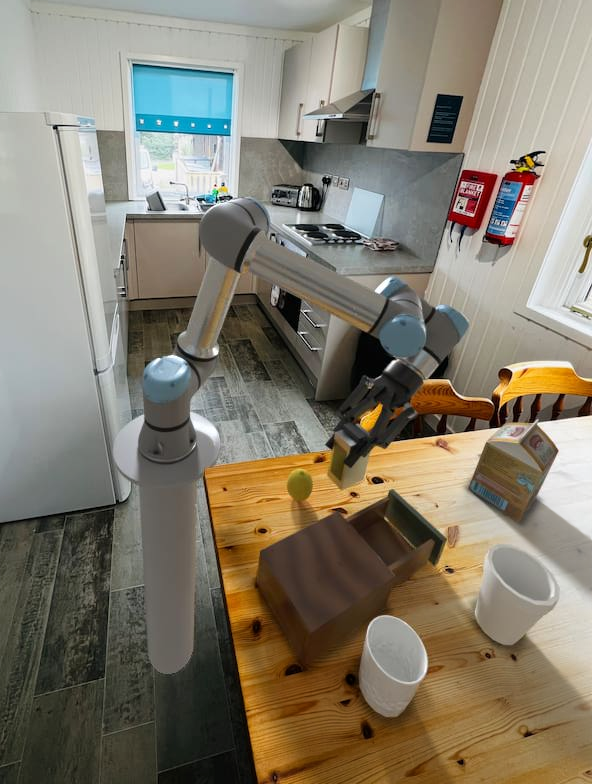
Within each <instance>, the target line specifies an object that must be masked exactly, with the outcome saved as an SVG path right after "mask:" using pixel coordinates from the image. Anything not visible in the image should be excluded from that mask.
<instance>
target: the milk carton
mask: <svg viewBox="0 0 592 784" xmlns="http://www.w3.org/2000/svg"><path fill="white" fill-rule="evenodd" d="M538 424H539V419H538V418H537V419H536V420H535V421H533V423H532V422H508V423H504V424H502V426H501V427H500V428H499V429H497V430H496V432H495V433H493V434H492V435H491V437H489V438H488V439H487V440H486V441H485V443H484V446H483V448H482V452H481V454H480V457H479V459H478V462H477V464H476V467H475V470H474V472H473V474H472V477H471V480H470V483H469V485H468V488H467V489H468V490H469V491H471V492H472V493H473V494H475V495H477V496H478V497H480V498H481V499H482V500H484V501H486V502H488V503H489V504H491V505H493V506H494V507H496V508H497V509H498V510H500V511H502V512H503V513H505V514H506V515H508V516H509V517H511V518H512V519H514V520H516V521H517V522H520V521H522V519H523V518H524V516H525V514H526V513H527V512H528V510H529V509H530V508H531V506H532V504H533V503H534V501H535V500H536V499H537V497H538V495H539V493H540V491H541V489H542V487H543V485H544V483H545V481H546V479H547V476H548V474H549V472H550V470H551V468H552V466H553V464H554V462H555V460H556V458H557V456H558V454H559V451H560V450H559V449H558V447H557V446H556V444H555V442H554V441H553V440H552V439H551V438H550V436H549V435H548V434H547V433H546V432H545V430H543V429H542V428H541V427H540V426H539V425H538Z"/></svg>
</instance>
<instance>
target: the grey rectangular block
mask: <svg viewBox="0 0 592 784" xmlns="http://www.w3.org/2000/svg"><path fill="white" fill-rule="evenodd" d="M334 433H335V437H334V442H333V447H332V450H331V453H330V459H329V464H328V469H327V474H326V476H327V477H328V478H329V480H331V482H332V483H333V484H334V485H335V486H336V487H337V488H338V489H339V490H340V491H341V492H342V491H344V490H346V489H348V488H351V487H352V486H355V485H357V484H358V483H360V482H362V481H364V480H365V476H366V472H367V468H368V463H369V459H370V455H371V452H370V453H369V454H368V455H367V456H366V457H364V458H363V457H362V456H361V457H360V458H359V459H358V460H357V462H356V463H355V464H354V465H353V466H352V468H349V467H348V466H347V465H345V464H344V463H343V461H344V460H345V458H346V457H347V456H348V455H349V454H350V452H351V451H352V450H353V449H354V448H355V446H356V445H357V444H358V443H359V442H360V440H361V439H362V438H363V437H364V438H365V439H367V438H366V437H369V435H370V433H371V432H369V431H368V430H367V429H366V428H364V427H363V426H362V425H361V424H360V423H354V422H349V423H347V424H344V425H343V430H340V431H338V432H334Z"/></svg>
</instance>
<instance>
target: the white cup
mask: <svg viewBox="0 0 592 784" xmlns="http://www.w3.org/2000/svg"><path fill="white" fill-rule="evenodd" d="M363 643H364V644H363V648H362V652H361V658H360V663H359V664H360V665H359V669H358V673H357V674H358V675H357V676H358V686H359V689H360V691H361V694H362V696H363V698H364V700H365V702H366V703H367V704H368V705H369V706H370V707H371V708H372V710H373V711H374V712H375V713H377V714H379V715H381V716H383V717H384V718H397V717H399V716H400V715H401V714H402V713H403V712H404V711H405V710H406V708H407V706H408V705H409V704H410V703H411V701H412V700H413V698H414V697H415V695H416V693H417V692H418V690H419V688H420V686H421V684H422V683H423V681H424V679H425V677H426V675H427V673H428V669H429V657H428V653H427V649H426V647H425V645H424V643H423V641H422V639H421V638H420V636H419V635H418V633H417V632H416V631H415V630H414V629H413V628H412V627H411V626H410V625H409V624H408V623H406V622H405V621H404V620H402V619H400V618H398V617H395V616H392V615H379V616H377V617H375V618H374V619H372V621H370V622H369V624H368V627H367V629H366V635H365V639H364V642H363Z"/></svg>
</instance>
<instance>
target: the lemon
mask: <svg viewBox="0 0 592 784" xmlns="http://www.w3.org/2000/svg"><path fill="white" fill-rule="evenodd" d="M313 482H314V481H313V478H312V476H311V474H310V472H309V471H307V470H306V469H304V468H296V469H293V470H292V471H291V472H290V473H289V475H288V477H287V480H286V489H287V493H288V495H289V496H290V498H292V499H293V500H295V501H297V502H303V501H306V500H307V499H309V498H310V496H311V494H312V492H313V487H314V483H313Z"/></svg>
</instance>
